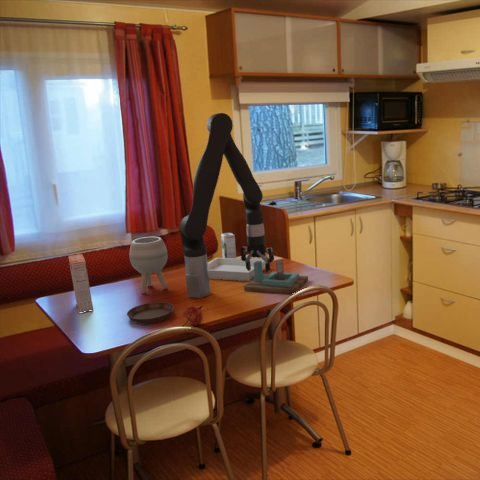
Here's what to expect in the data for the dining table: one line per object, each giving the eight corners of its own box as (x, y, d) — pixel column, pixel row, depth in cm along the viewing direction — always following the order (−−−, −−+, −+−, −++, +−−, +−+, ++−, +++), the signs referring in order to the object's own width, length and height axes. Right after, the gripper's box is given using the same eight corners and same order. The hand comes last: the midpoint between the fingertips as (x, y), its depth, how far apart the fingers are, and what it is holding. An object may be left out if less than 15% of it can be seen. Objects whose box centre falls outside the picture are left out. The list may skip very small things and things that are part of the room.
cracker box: (75, 303, 227) (67, 255, 222) (90, 301, 229) (83, 253, 224) (78, 314, 214) (70, 263, 209) (93, 311, 216) (86, 260, 211)
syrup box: (222, 262, 272) (220, 233, 269) (233, 260, 274) (231, 232, 270) (225, 264, 267) (223, 236, 264) (237, 262, 269) (234, 234, 265)
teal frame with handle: (289, 287, 221) (288, 268, 219) (251, 284, 228) (249, 266, 226) (298, 277, 231) (297, 259, 229) (262, 275, 238) (260, 258, 236)
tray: (249, 281, 238) (248, 272, 237) (197, 277, 249) (196, 269, 248) (266, 268, 256) (265, 260, 255) (217, 265, 267) (216, 257, 266)
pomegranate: (189, 336, 191) (210, 316, 191) (174, 321, 189) (195, 301, 190) (189, 330, 198) (208, 311, 198) (175, 316, 197) (195, 297, 197)
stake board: (294, 294, 217) (292, 268, 215) (244, 290, 227) (242, 265, 224) (308, 280, 233) (306, 256, 230) (260, 277, 242) (259, 253, 240)
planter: (134, 297, 229) (127, 246, 223) (133, 286, 244) (127, 238, 239) (172, 292, 231) (166, 241, 226) (169, 281, 247) (164, 233, 242)
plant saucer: (118, 319, 206) (117, 312, 205) (156, 305, 218) (155, 298, 217) (145, 330, 194) (144, 322, 193) (184, 315, 205) (183, 307, 205)
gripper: (236, 235, 228) (239, 272, 231) (268, 236, 222) (270, 274, 225) (243, 231, 234) (246, 267, 238) (274, 232, 228) (277, 269, 232)
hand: (258, 270), depth 232 cm, fingers open, 8 cm apart
